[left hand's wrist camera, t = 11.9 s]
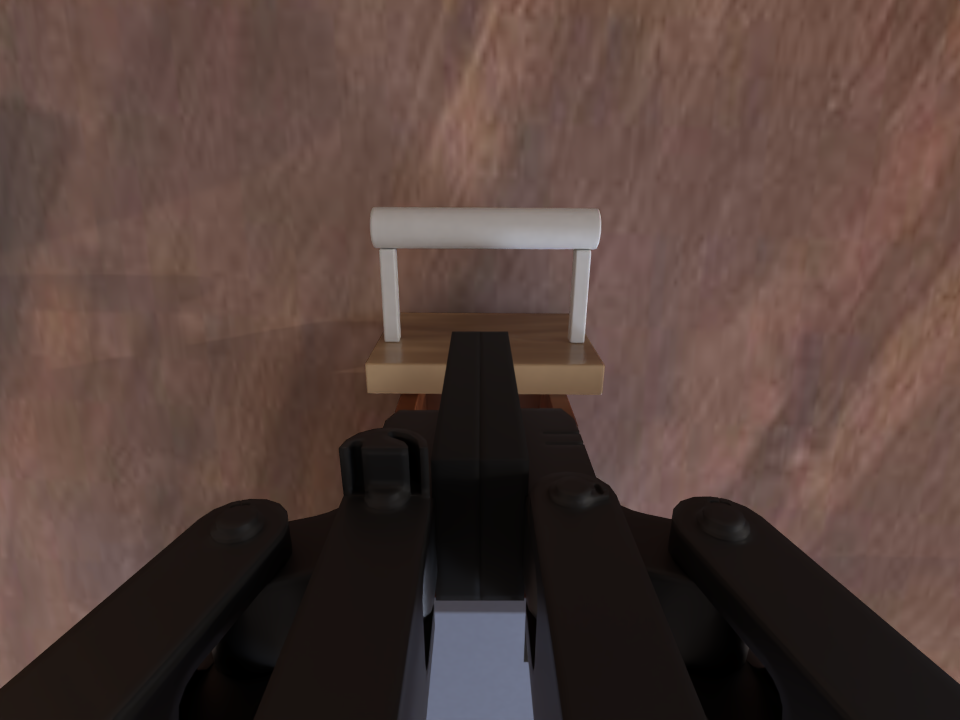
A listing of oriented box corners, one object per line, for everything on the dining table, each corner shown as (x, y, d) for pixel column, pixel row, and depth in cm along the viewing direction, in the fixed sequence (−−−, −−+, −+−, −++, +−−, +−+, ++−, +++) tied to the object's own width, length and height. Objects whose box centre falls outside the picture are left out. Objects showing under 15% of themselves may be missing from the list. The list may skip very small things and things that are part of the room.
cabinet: (395, 488, 30) (363, 612, 22) (568, 489, 30) (602, 613, 22) (407, 696, 36) (385, 856, 28) (553, 697, 36) (575, 857, 28)
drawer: (388, 199, 24) (353, 213, 17) (580, 200, 24) (619, 214, 17) (407, 566, 31) (387, 674, 25) (555, 566, 31) (576, 675, 25)
